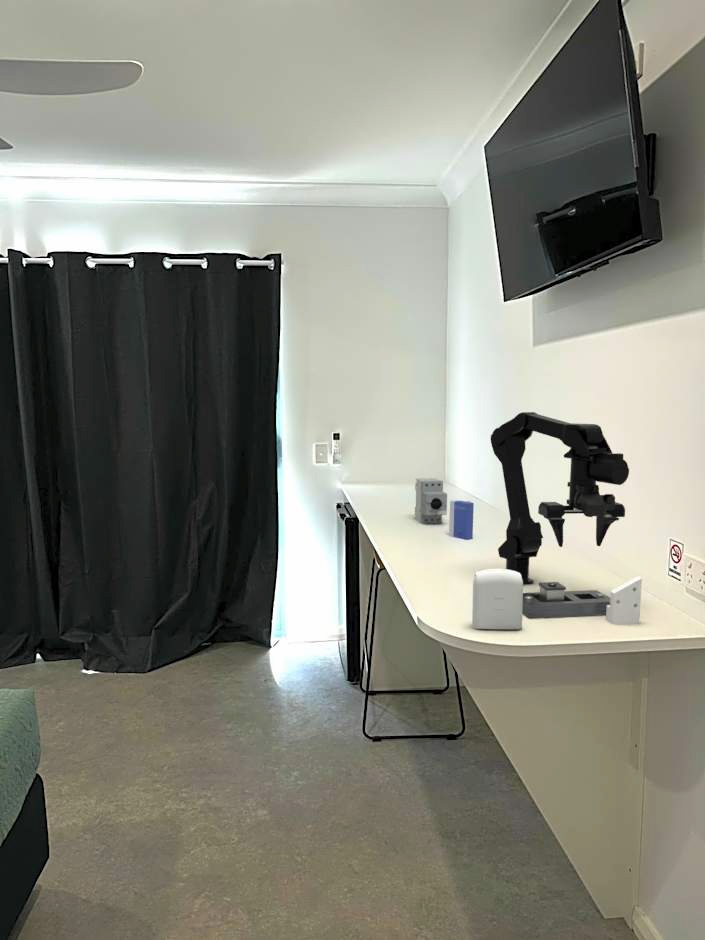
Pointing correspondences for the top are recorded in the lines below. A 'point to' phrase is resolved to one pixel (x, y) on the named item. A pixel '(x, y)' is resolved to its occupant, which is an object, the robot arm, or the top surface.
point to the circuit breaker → (430, 501)
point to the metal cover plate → (566, 605)
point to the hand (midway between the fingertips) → (579, 546)
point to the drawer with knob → (551, 592)
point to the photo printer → (497, 599)
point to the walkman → (461, 519)
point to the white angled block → (625, 603)
